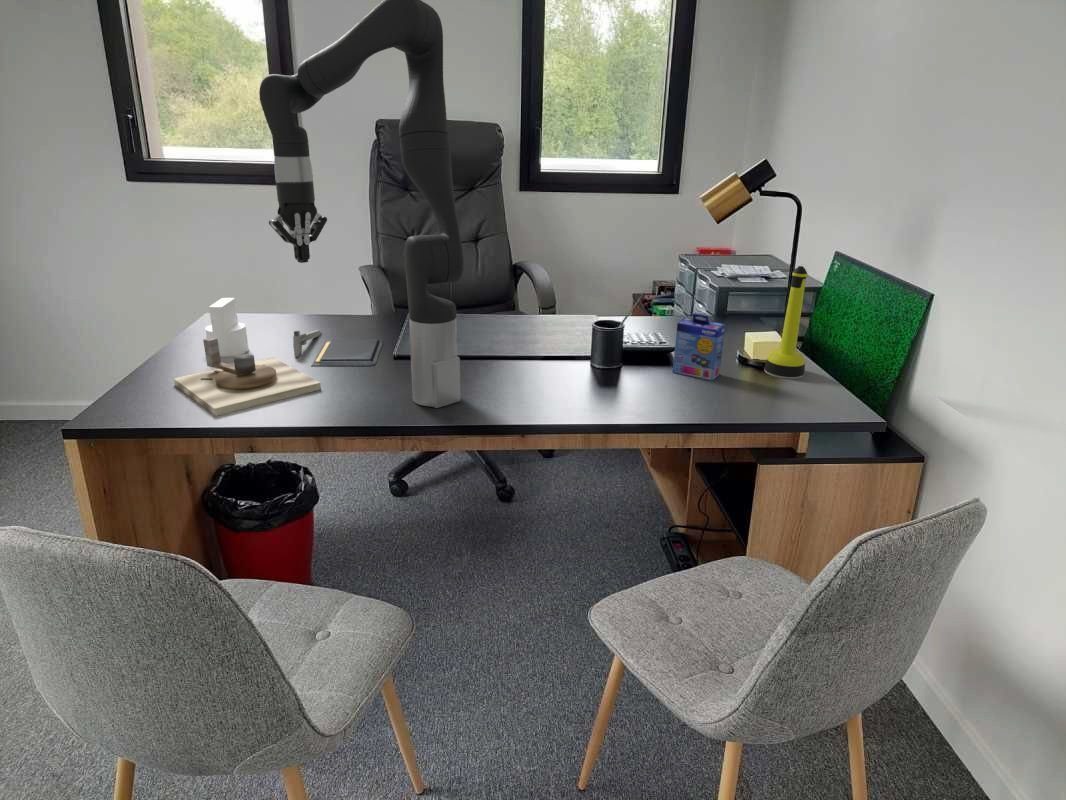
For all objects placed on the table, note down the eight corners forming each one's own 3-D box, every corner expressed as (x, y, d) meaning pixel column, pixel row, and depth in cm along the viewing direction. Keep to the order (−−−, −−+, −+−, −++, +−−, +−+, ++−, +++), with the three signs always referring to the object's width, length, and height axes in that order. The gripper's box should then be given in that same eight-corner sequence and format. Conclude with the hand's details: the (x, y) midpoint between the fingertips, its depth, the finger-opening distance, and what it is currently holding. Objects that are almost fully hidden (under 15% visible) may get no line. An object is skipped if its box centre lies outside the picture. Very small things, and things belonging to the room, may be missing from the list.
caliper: (299, 358, 170) (296, 332, 168) (294, 358, 170) (291, 332, 168) (321, 333, 190) (319, 310, 187) (317, 333, 190) (315, 310, 187)
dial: (288, 375, 153) (285, 344, 150) (242, 392, 143) (237, 359, 141) (234, 361, 161) (230, 331, 158) (187, 377, 151) (182, 345, 148)
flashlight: (829, 270, 155) (812, 262, 163) (789, 269, 155) (774, 261, 163) (810, 378, 164) (795, 366, 173) (772, 378, 164) (758, 366, 172)
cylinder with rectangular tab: (216, 345, 178) (209, 297, 174) (253, 345, 179) (247, 298, 174) (202, 356, 170) (195, 306, 165) (241, 356, 170) (234, 307, 166)
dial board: (320, 389, 151) (320, 381, 151) (215, 415, 137) (214, 407, 136) (274, 363, 166) (273, 356, 165) (174, 385, 152) (173, 377, 151)
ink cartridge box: (671, 373, 166) (677, 312, 161) (679, 366, 170) (685, 307, 165) (712, 381, 161) (720, 318, 156) (720, 374, 166) (727, 313, 160)
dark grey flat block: (374, 361, 165) (307, 361, 164) (375, 369, 166) (308, 369, 165) (386, 336, 184) (325, 336, 183) (386, 343, 184) (326, 343, 183)
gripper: (313, 177, 157) (320, 256, 163) (255, 179, 148) (265, 263, 155) (331, 179, 152) (338, 260, 159) (273, 181, 144) (283, 268, 150)
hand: (302, 262), depth 157 cm, fingers closed
